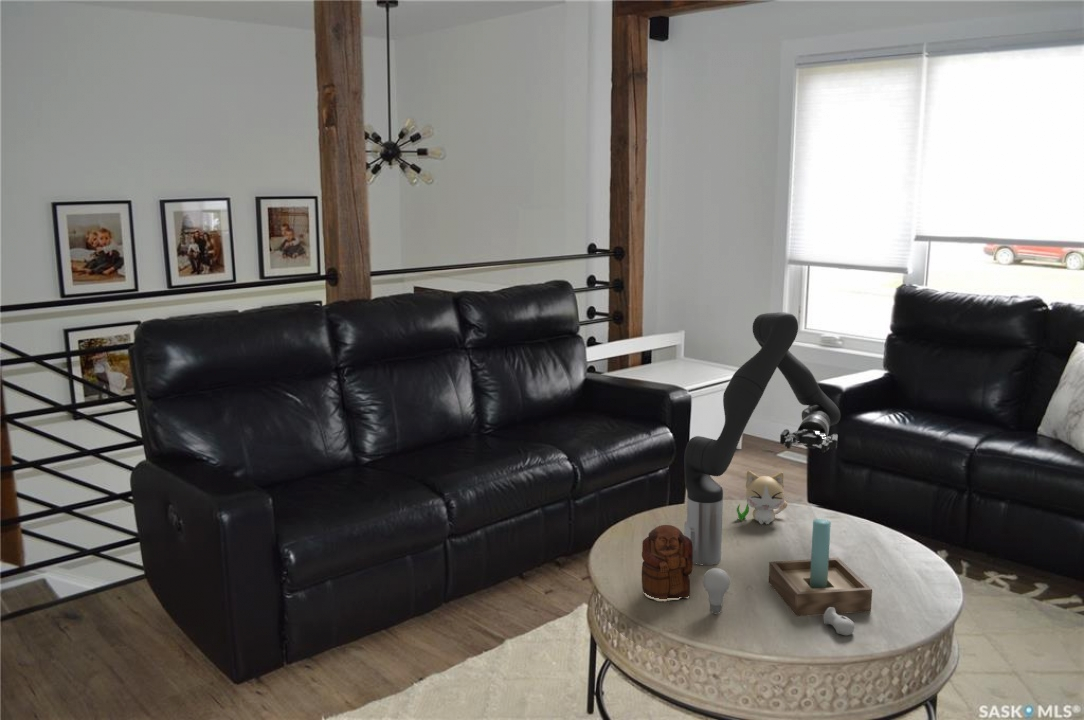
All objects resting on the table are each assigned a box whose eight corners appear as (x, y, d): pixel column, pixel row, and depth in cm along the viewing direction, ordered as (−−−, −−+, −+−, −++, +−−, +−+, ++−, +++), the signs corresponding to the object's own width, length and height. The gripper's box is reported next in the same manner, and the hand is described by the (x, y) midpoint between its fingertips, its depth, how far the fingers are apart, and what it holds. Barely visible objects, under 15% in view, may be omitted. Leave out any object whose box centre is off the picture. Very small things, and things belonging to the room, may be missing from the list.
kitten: (737, 525, 259) (738, 476, 256) (735, 513, 269) (737, 466, 266) (789, 528, 257) (792, 479, 254) (786, 515, 266) (788, 468, 263)
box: (796, 616, 205) (797, 594, 204) (768, 582, 222) (769, 561, 221) (870, 611, 207) (872, 589, 206) (837, 578, 224) (838, 557, 223)
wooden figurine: (646, 604, 212) (647, 533, 208) (640, 592, 218) (640, 523, 214) (694, 600, 213) (696, 529, 210) (686, 588, 219) (688, 520, 216)
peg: (813, 600, 212) (817, 525, 209) (806, 592, 216) (810, 519, 213) (829, 599, 213) (833, 524, 209) (822, 591, 217) (826, 518, 213)
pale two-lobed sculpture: (856, 641, 196) (837, 638, 194) (836, 624, 203) (817, 620, 202) (863, 624, 195) (844, 620, 194) (842, 607, 203) (823, 603, 201)
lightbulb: (730, 609, 209) (731, 565, 206) (727, 621, 203) (728, 576, 201) (704, 605, 211) (705, 562, 208) (700, 617, 205) (701, 572, 203)
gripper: (787, 414, 243) (777, 429, 228) (841, 419, 237) (835, 435, 223) (786, 441, 245) (776, 457, 230) (840, 446, 239) (833, 464, 224)
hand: (805, 446), depth 226 cm, fingers open, 8 cm apart
